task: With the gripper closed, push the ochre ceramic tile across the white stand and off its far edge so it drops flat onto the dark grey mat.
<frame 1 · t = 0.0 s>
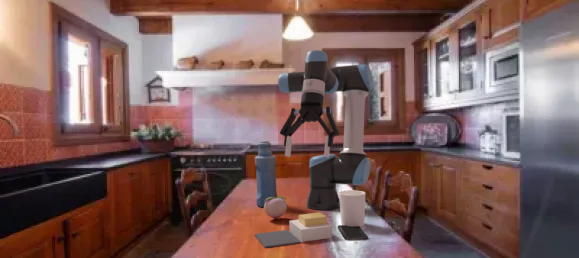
hand: (306, 156, 124), 28 cm above the table, tool tilted 20°, fingers open, 13 cm apart
white stand: (310, 234, 133), on the table
ochre tile: (312, 222, 133), point 4 cm above the table, touching white stand
decorative fruit: (276, 219, 154), on the table
phone: (352, 234, 133), on the table
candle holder: (352, 225, 144), on the table
bottle: (267, 205, 180), on the table
dark grey mat: (276, 239, 129), on the table
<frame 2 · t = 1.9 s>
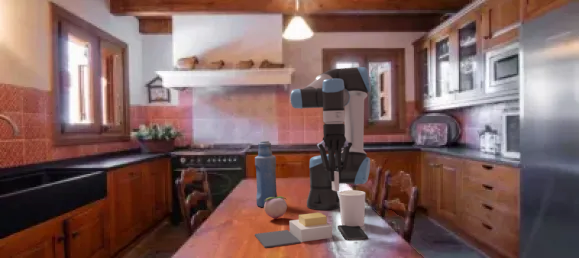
hand: (335, 190, 135), 15 cm above the table, tool pointing down, fingers closed
nothing on the table moved.
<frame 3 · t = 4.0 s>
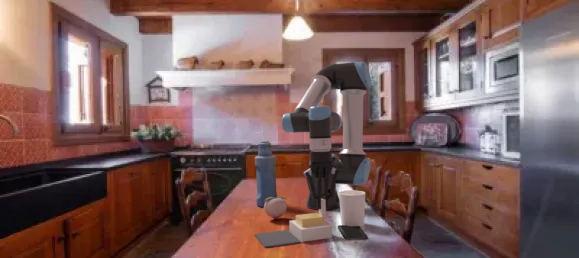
hand: (322, 218, 134), 5 cm above the table, tool pointing down, fingers closed
ochre tile: (309, 223, 133), point 4 cm above the table
everything else where it was.
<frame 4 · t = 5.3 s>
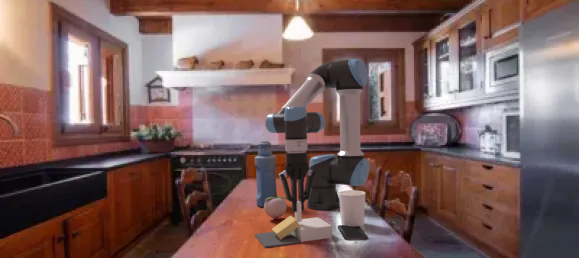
hand: (298, 220, 131), 5 cm above the table, tool pointing down, fingers closed
ochre tile: (287, 230, 130), point 2 cm above the table, tilted 29°, touching white stand
everything else where it was.
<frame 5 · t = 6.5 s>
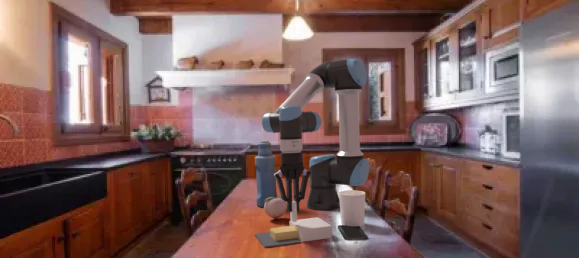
hand: (293, 220, 131), 5 cm above the table, tool pointing down, fingers closed
ochre tile: (284, 236, 130), resting on dark grey mat
everything else where it was.
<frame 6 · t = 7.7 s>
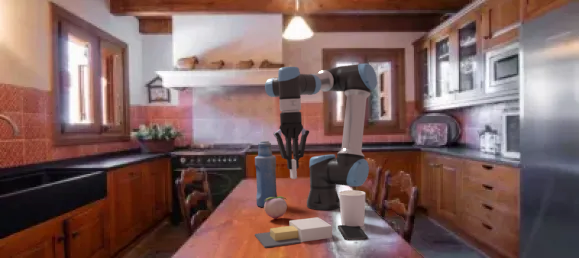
hand: (293, 178, 136), 19 cm above the table, tool pointing down, fingers closed
nothing on the table moved.
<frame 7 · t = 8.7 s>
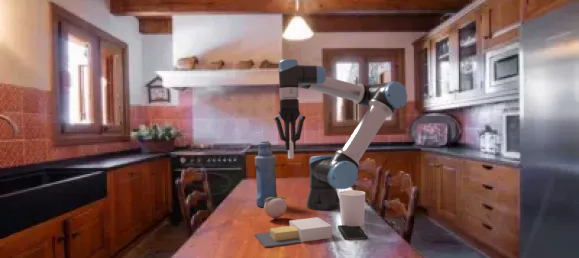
hand: (290, 158, 153), 24 cm above the table, tool pointing down, fingers closed
nothing on the table moved.
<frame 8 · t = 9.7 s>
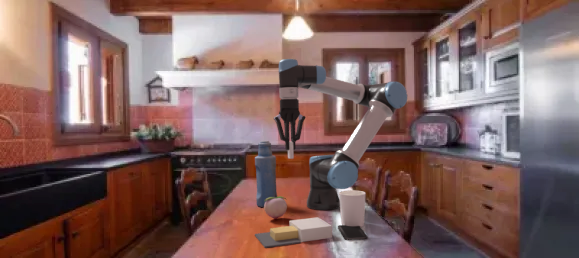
hand: (290, 158, 153), 24 cm above the table, tool pointing down, fingers closed
nothing on the table moved.
at the end: ochre tile inside the target area (3.0 cm from its centre), point 0.5 cm above the table; ochre tile point 0.5 cm above the table; ochre tile tilted 0° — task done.
